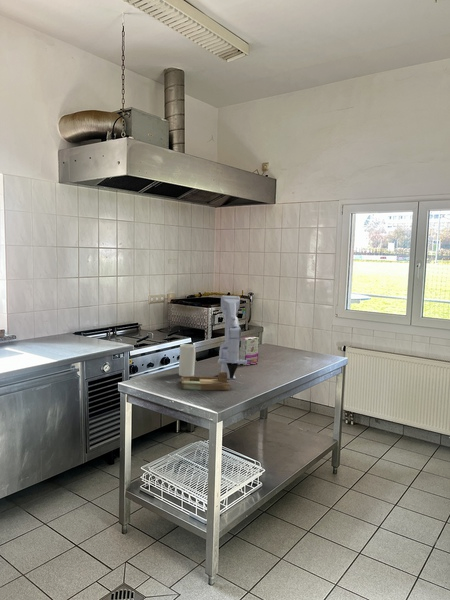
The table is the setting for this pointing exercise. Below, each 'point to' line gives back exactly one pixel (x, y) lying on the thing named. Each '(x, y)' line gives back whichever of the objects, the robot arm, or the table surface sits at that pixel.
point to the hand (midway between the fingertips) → (231, 377)
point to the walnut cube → (222, 376)
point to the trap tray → (203, 383)
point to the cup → (187, 360)
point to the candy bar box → (249, 349)
